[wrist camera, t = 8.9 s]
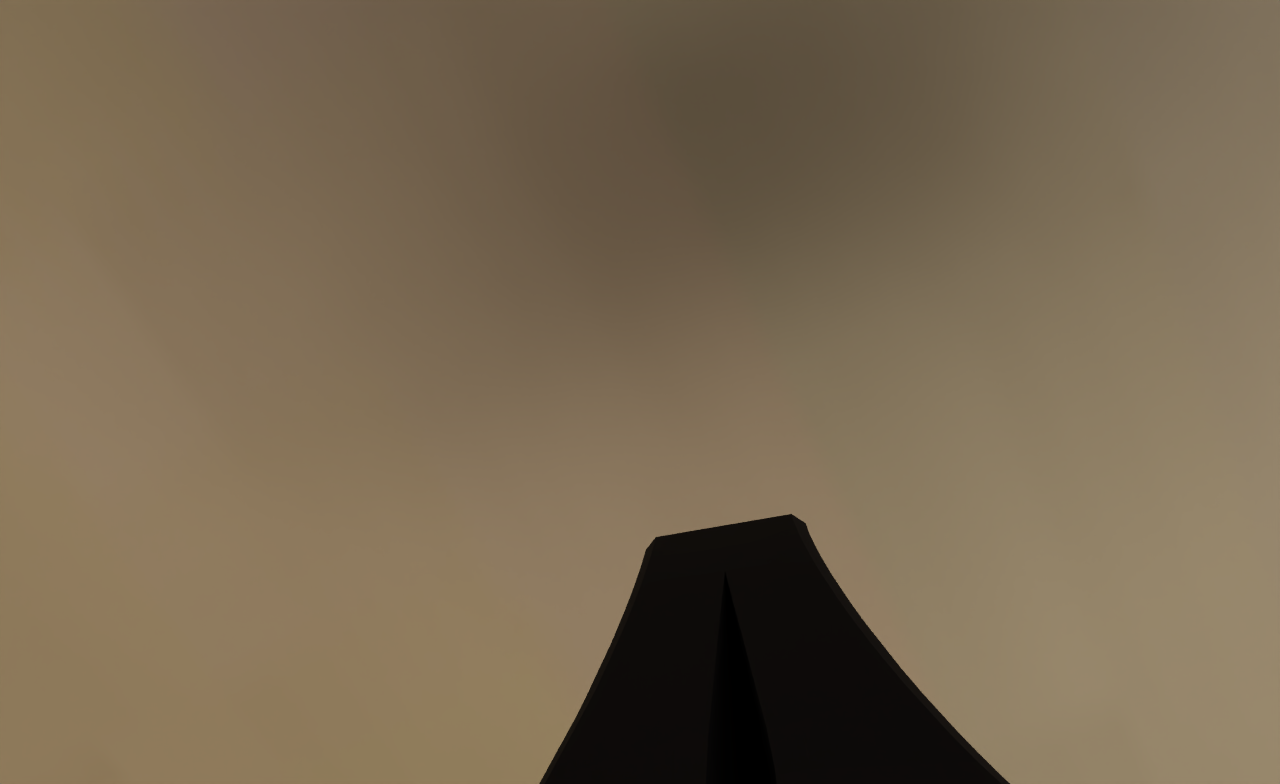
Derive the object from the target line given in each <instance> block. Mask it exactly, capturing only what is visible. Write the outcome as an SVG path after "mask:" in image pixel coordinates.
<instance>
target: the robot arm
mask: <svg viewBox="0 0 1280 784" xmlns="http://www.w3.org/2000/svg"><path fill="white" fill-rule="evenodd" d="M540 784H1010V783H1009V782H1008V781H1006V780H1005V779H1004V778H1003V777H1002V776H1001V775H1000V774H999V773H998V772H997V771H996V770H995V769H994V768H993V767H992V766H991V765H990V764H989V763H988V762H987V761H986V760H985V759H984V758H983V757H982V756H981V755H980V754H979V753H978V752H977V751H976V750H975V749H974V748H973V747H972V746H971V745H970V744H969V743H968V742H967V741H966V740H965V739H964V738H963V737H962V736H961V735H960V734H959V733H958V732H957V730H956V729H955V728H954V727H953V726H952V725H951V724H950V723H949V722H948V721H947V720H946V718H945V717H944V716H943V715H942V714H941V713H940V712H939V711H938V710H937V709H936V708H935V706H934V705H933V704H932V703H931V702H930V701H929V700H928V699H927V698H926V697H925V696H924V694H923V693H922V692H921V691H920V690H919V689H918V687H917V686H916V685H915V684H914V683H913V682H912V680H911V679H910V678H909V677H908V676H907V675H906V673H905V672H904V671H903V670H902V669H901V668H900V666H899V665H898V664H897V663H896V661H895V660H894V659H893V658H892V656H891V655H890V654H889V652H888V651H887V650H886V649H885V647H884V646H883V645H882V644H881V642H880V641H879V640H878V639H877V637H876V636H875V635H874V633H873V632H872V631H871V630H870V628H869V627H868V626H867V625H866V623H865V622H864V621H863V619H862V618H861V617H860V615H859V614H858V612H857V611H856V610H855V608H854V607H853V606H852V604H851V603H850V601H849V600H848V598H847V597H846V595H845V594H844V592H843V591H842V589H841V588H840V586H839V585H838V583H837V582H836V580H835V579H834V577H833V576H832V574H831V573H830V571H829V569H828V568H827V566H826V564H825V563H824V561H823V559H822V558H821V556H820V554H819V552H818V550H817V548H816V546H815V544H814V542H813V540H812V538H811V536H810V534H809V532H808V529H807V526H806V523H804V522H803V521H801V520H800V519H798V518H797V517H795V516H794V515H792V514H789V515H783V516H777V517H771V518H766V519H760V520H754V521H748V522H742V523H736V524H730V525H724V526H719V527H713V528H707V529H701V530H695V531H689V532H683V533H677V534H672V535H666V536H660V537H656V538H655V539H654V540H653V542H652V543H651V544H650V545H649V547H648V548H647V549H646V552H645V555H644V558H643V562H642V565H641V568H640V571H639V574H638V577H637V580H636V583H635V585H634V588H633V591H632V594H631V596H630V599H629V601H628V604H627V607H626V609H625V612H624V614H623V616H622V619H621V621H620V624H619V626H618V628H617V631H616V633H615V636H614V638H613V640H612V643H611V645H610V647H609V649H608V651H607V653H606V656H605V658H604V660H603V662H602V664H601V666H600V668H599V670H598V673H597V675H596V677H595V679H594V681H593V683H592V685H591V688H590V690H589V692H588V694H587V696H586V698H585V700H584V702H583V704H582V706H581V708H580V710H579V712H578V714H577V716H576V718H575V720H574V722H573V724H572V725H571V727H570V729H569V731H568V733H567V734H566V736H565V738H564V740H563V742H562V744H561V745H560V747H559V749H558V751H557V753H556V754H555V756H554V758H553V760H552V762H551V764H550V765H549V767H548V769H547V771H546V773H545V774H544V776H543V778H542V780H541V782H540Z"/></svg>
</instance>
